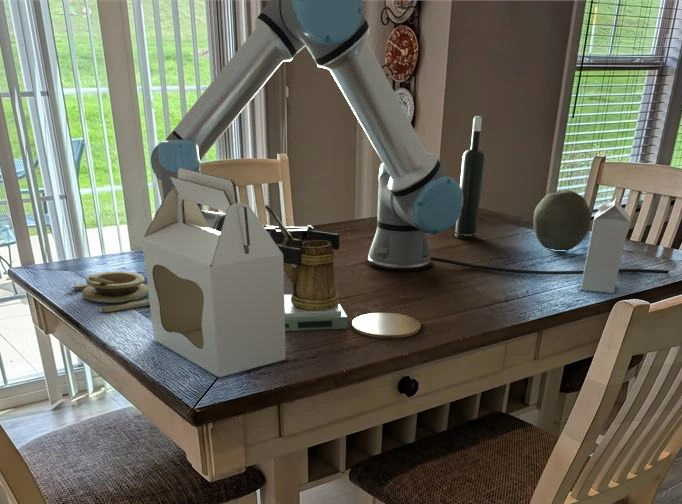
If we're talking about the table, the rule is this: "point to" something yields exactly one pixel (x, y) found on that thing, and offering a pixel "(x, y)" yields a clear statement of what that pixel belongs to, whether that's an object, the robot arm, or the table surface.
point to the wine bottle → (471, 185)
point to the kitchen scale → (313, 318)
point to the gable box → (214, 279)
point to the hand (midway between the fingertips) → (320, 249)
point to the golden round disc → (386, 325)
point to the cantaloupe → (561, 220)
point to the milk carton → (605, 248)
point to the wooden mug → (310, 272)
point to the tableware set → (115, 289)
